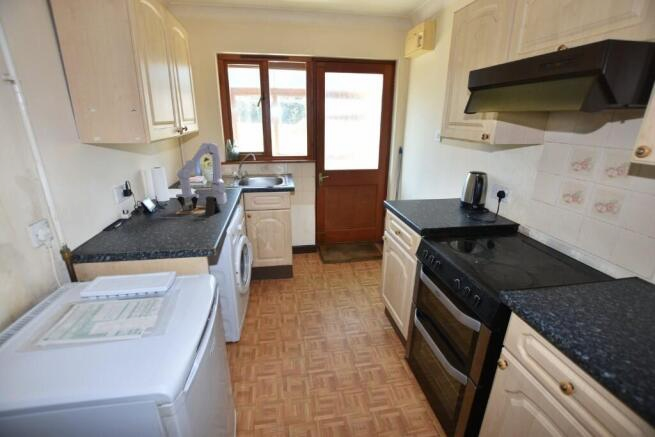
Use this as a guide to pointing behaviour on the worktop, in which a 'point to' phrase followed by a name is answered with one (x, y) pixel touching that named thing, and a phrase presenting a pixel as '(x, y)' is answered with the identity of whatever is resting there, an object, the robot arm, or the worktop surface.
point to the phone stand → (211, 206)
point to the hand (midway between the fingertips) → (189, 207)
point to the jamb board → (195, 211)
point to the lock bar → (188, 206)
